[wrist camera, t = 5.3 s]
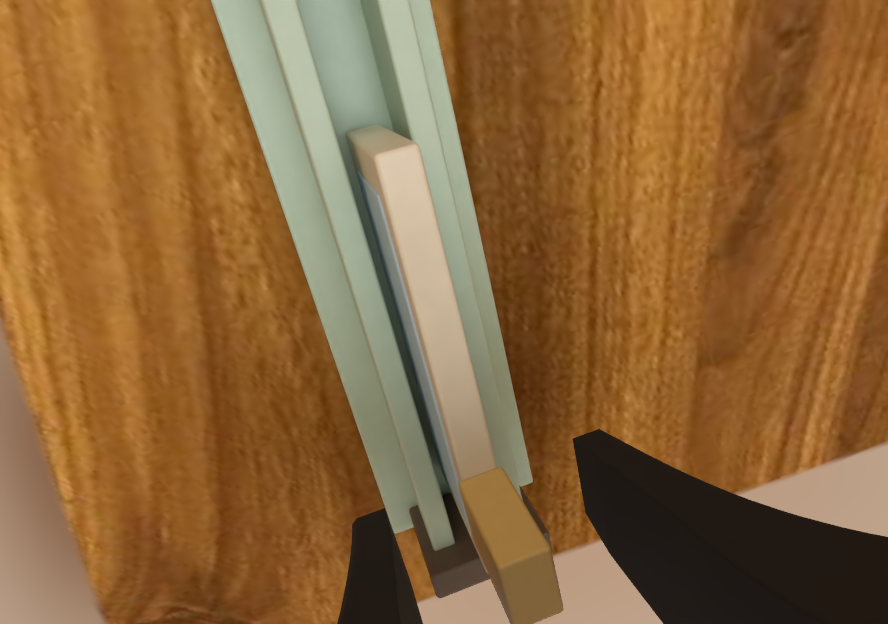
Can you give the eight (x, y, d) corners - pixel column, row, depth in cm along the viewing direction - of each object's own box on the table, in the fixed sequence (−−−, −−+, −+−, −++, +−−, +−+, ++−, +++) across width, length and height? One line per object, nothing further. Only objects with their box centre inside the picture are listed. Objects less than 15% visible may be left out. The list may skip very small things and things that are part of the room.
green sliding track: (519, 460, 20) (575, 546, 16) (387, 509, 19) (415, 610, 16) (318, -448, 12) (342, -684, 8) (70, -416, 11) (-26, -656, 7)
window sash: (472, 462, 18) (574, 656, 12) (438, 474, 18) (525, 677, 12) (383, 121, 14) (470, 160, 8) (339, 133, 14) (395, 182, 8)
